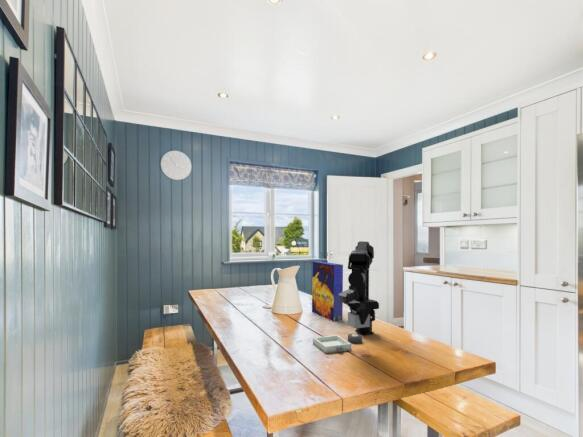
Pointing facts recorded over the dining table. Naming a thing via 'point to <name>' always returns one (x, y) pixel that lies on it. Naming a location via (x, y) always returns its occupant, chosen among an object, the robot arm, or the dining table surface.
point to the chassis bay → (331, 344)
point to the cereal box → (327, 290)
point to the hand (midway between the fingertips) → (358, 322)
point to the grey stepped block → (357, 319)
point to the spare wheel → (355, 338)
